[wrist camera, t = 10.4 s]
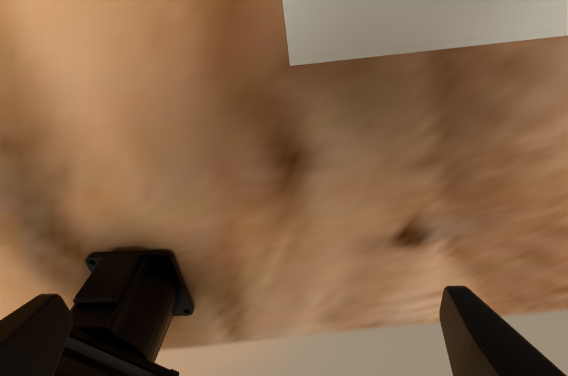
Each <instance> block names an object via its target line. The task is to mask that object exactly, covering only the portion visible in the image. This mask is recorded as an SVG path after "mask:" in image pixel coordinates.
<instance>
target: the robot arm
mask: <svg viewBox="0 0 568 376" xmlns="http://www.w3.org/2000/svg"><path fill="white" fill-rule="evenodd" d="M165 257H166V258H165ZM85 262H86V264H87V266H88V267H89V269H90V271H91V272H92V274H91V275H90V276H89V278H88V279H87V281H86V282H85V284H84V285H83V286H82V288H81V289H80V291H79V292H78V294H77V295H76V296H75V298H74V299H73V302H74V305H73V307H72V308H71V310H69V309H68V307H67V305H66V304H65V302H64V301H63V299H62V297H61V296H60V295H58V294H41V295H38V296H36V297H35V298H33V299H32V300H30V301H29V302H27V303H26V304H24V305H23V306H21V307H20V308H18V309H17V310H15V311H14V312H12V313H11V314H9V315H8V316H6V317H5V318H3V319H2V320H0V376H179V372H178V371H175V370H173V369H171V370H169V369H167V368H165V367H162V366H160V365H158V364H156V363H154V362H155V360H156V357H157V355H158V352H159V350H160V347H161V345H162V342H163V340H164V337H165V335H166V332H167V330H168V327H169V325H170V322H171V320H172V317H173V316H188V315H192V313H193V311H194V306H193V303H192V301H191V298H190V295H189V293H188V290H187V288H186V285H185V283H184V280H183V278H182V275H181V273H180V270H179V268H178V265H177V263H176V260H175V258H174V255H173V254H172V253H171V252H169V251H141V252H117V253H93V254H90V255H88V257H87V258H86V260H85ZM440 322H441V327H442V331H443V335H444V339H445V343H446V348H447V352H448V356H449V360H450V364H451V368H452V372H453V376H566V375H565V374H564V373H563V372H562V371H561V370H559V369H558V368H557V367H556V366H555V365H554V364H553V363H552V362H551V361H550V360H548V359H547V358H546V357H545V356H544V355H543V354H542V353H541V352H539V351H538V350H537V349H536V348H535V347H534V346H532V345H531V344H530V343H529V342H528V341H527V340H526V339H525V338H524V337H523V336H521V335H520V334H519V333H518V332H517V331H516V330H515V329H514V328H512V327H511V326H510V325H509V324H508V323H507V322H506V321H505V320H503V319H502V318H501V317H500V316H499V315H498V314H497V313H496V312H494V311H493V310H492V309H491V308H490V307H489V306H488V305H487V304H485V303H484V302H483V301H482V300H481V299H480V298H479V297H478V296H476V295H475V294H474V293H473V292H472V291H471V290H470V289H469V288H467V287H465V286H446V287H445V288H444V291H443V296H442V301H441V306H440Z"/></svg>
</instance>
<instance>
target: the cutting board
mask: <svg viewBox="0 0 568 376" xmlns="http://www.w3.org/2000/svg"><path fill="white" fill-rule="evenodd" d="M282 1H283V10H284V18H285V27H286V36H287V44H288V53H289V62H290V66H294V65H304V64H313V63H322V62H331V61H340V60H349V59H358V58H367V57H376V56H385V55H395V54H404V53H413V52H422V51H431V50H440V49H449V48H458V47H467V46H476V45H486V44H495V43H504V42H513V41H522V40H531V39H540V38H549V37H558V36H567V35H568V0H282Z"/></svg>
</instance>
